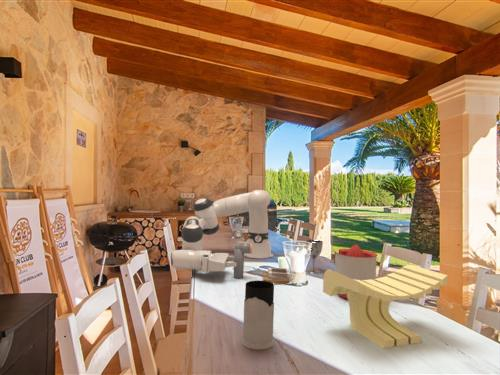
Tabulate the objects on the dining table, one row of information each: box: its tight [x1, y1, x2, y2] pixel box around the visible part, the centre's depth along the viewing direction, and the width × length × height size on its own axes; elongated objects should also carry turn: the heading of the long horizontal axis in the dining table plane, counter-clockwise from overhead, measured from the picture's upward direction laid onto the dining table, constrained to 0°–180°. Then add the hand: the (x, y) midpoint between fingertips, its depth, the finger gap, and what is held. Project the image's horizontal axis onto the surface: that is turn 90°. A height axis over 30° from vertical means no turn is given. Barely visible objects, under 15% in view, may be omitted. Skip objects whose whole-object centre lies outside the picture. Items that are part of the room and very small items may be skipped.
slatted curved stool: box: [322, 264, 449, 349], centre depth 96 cm, size 30×16×18 cm, turn 109°
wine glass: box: [305, 239, 324, 274], centre depth 164 cm, size 8×8×15 cm
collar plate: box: [262, 267, 290, 285], centre depth 147 cm, size 14×14×4 cm
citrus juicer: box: [329, 244, 378, 300], centre depth 128 cm, size 16×17×20 cm
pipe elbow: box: [233, 242, 252, 280], centre depth 148 cm, size 8×5×15 cm, turn 88°
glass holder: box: [240, 280, 275, 350], centre depth 90 cm, size 9×14×15 cm, turn 163°
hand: (237, 261), depth 148 cm, fingers open, 8 cm apart
